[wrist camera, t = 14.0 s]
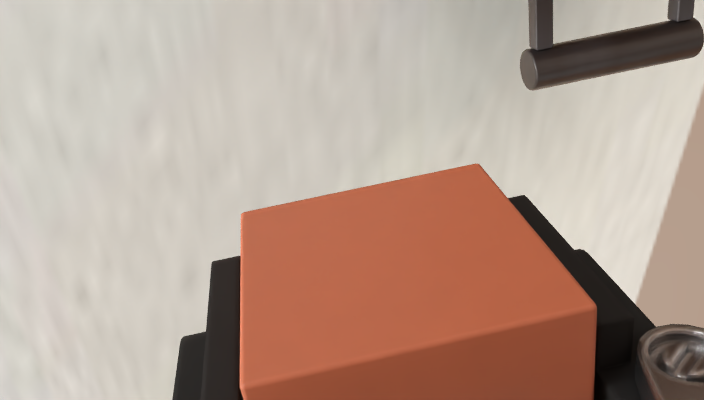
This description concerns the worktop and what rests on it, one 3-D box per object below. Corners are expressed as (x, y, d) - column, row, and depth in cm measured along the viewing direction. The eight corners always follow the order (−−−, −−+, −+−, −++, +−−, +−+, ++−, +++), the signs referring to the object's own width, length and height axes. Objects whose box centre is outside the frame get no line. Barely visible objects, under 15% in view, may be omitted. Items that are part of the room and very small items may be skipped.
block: (478, 160, 12) (600, 305, 8) (491, 345, 14) (590, 533, 10) (240, 211, 11) (237, 387, 7) (289, 391, 14) (308, 603, 10)
